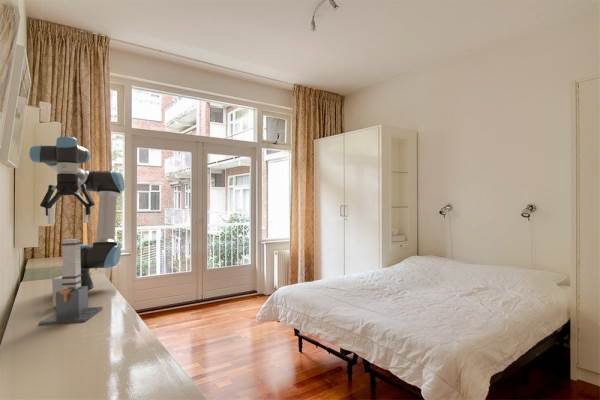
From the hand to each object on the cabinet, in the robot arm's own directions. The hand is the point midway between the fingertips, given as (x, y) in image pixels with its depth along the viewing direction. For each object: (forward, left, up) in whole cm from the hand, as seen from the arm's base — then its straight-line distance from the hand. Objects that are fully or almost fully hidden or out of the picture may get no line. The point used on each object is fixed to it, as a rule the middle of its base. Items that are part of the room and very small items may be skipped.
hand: (68, 223), depth 146 cm
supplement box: (-8, -5, -37) cm, 38 cm away
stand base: (+11, +6, -37) cm, 39 cm away
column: (+11, +6, -28) cm, 31 cm away
